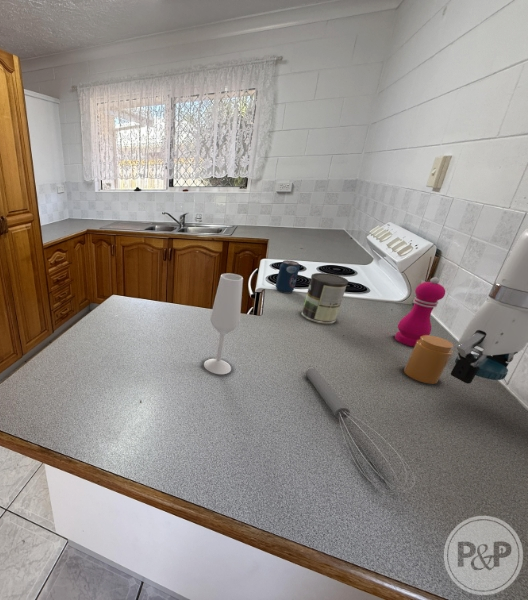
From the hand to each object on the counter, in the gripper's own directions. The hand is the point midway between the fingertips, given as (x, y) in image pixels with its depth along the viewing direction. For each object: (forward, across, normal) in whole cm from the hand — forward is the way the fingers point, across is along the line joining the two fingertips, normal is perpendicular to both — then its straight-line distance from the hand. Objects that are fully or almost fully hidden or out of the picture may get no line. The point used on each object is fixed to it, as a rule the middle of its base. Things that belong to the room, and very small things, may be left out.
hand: (474, 376), depth 63 cm
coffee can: (+8, -3, -43) cm, 44 cm away
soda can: (+8, -8, -67) cm, 68 cm away
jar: (+8, -4, -10) cm, 14 cm away
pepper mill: (+8, -18, -24) cm, 31 cm away
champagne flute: (+9, +44, -23) cm, 51 cm away
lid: (-3, 0, 0) cm, 3 cm away
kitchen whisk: (+9, +29, -1) cm, 31 cm away
